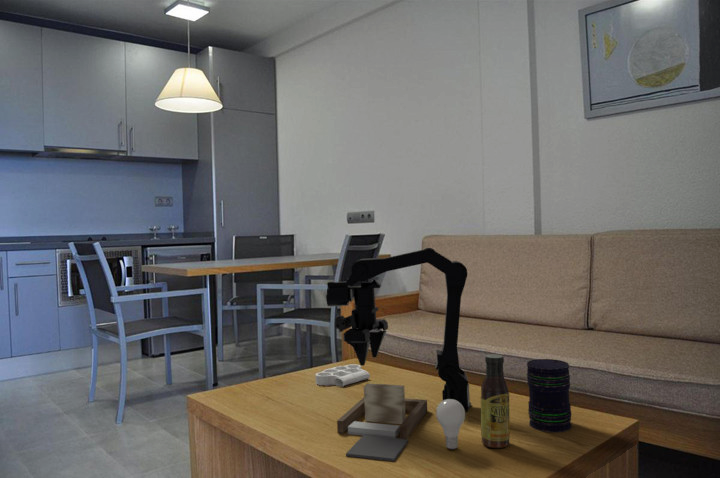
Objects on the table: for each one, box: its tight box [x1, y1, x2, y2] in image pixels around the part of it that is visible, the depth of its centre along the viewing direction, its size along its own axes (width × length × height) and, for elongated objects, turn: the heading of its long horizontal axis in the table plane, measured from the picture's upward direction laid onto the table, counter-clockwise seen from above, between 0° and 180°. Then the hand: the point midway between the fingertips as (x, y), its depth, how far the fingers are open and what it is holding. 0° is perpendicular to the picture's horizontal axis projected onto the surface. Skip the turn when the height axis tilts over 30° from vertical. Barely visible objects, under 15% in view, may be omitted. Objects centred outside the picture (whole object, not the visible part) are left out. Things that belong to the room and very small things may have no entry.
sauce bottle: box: [480, 353, 511, 449], centre depth 124 cm, size 7×6×20 cm
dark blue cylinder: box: [526, 358, 572, 433], centre depth 135 cm, size 10×10×15 cm
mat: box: [345, 435, 409, 462], centre depth 125 cm, size 11×11×1 cm
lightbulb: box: [435, 399, 466, 450], centre depth 123 cm, size 6×6×11 cm
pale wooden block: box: [363, 383, 407, 425], centre depth 143 cm, size 10×3×9 cm, turn 70°
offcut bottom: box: [347, 431, 400, 438], centre depth 135 cm, size 12×4×1 cm, turn 69°
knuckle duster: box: [315, 363, 371, 388], centre depth 184 cm, size 3×18×15 cm
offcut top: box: [347, 421, 400, 437], centre depth 135 cm, size 12×4×1 cm, turn 69°
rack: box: [336, 397, 428, 439], centre depth 142 cm, size 18×20×3 cm
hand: (368, 361), depth 153 cm, fingers open, 9 cm apart
